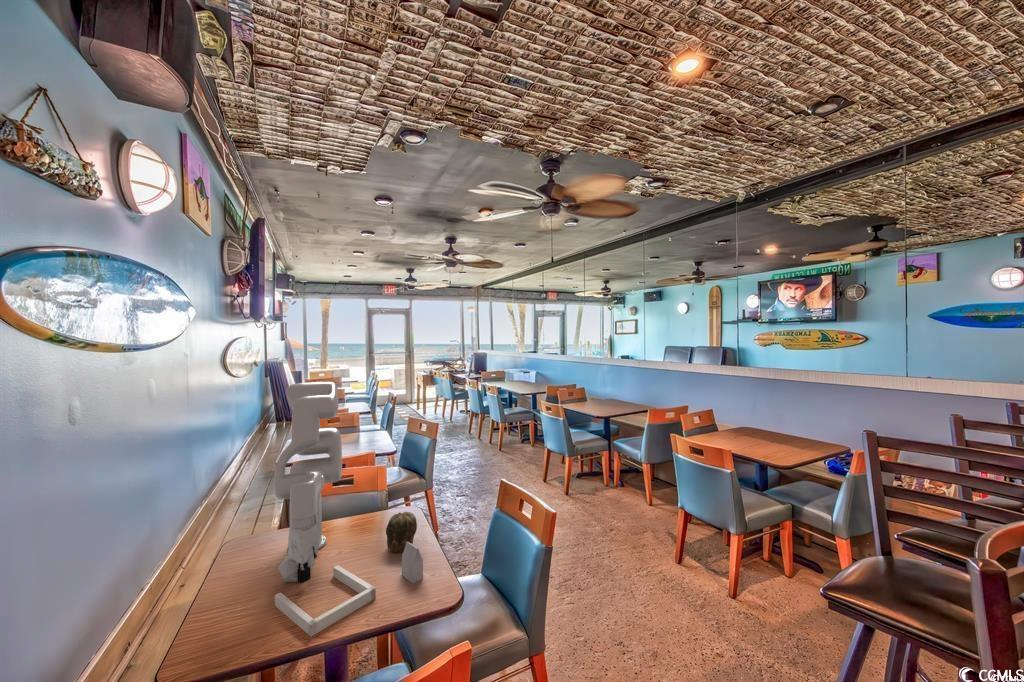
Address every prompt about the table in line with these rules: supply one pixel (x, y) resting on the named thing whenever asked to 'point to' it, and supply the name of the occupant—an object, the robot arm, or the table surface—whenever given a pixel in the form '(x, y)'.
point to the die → (288, 569)
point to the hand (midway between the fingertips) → (304, 580)
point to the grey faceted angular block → (412, 563)
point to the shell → (400, 531)
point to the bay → (334, 614)
